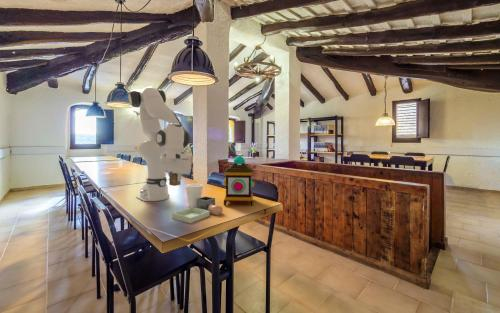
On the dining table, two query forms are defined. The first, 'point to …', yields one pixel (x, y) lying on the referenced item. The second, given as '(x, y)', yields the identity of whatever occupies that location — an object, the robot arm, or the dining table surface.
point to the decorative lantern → (238, 182)
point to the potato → (215, 209)
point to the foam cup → (193, 193)
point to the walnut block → (173, 179)
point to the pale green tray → (190, 214)
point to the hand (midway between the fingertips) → (175, 180)
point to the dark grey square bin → (205, 202)
